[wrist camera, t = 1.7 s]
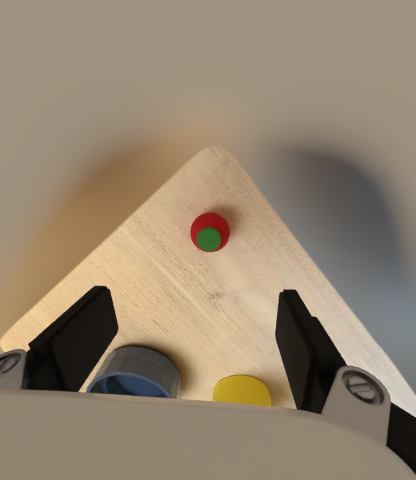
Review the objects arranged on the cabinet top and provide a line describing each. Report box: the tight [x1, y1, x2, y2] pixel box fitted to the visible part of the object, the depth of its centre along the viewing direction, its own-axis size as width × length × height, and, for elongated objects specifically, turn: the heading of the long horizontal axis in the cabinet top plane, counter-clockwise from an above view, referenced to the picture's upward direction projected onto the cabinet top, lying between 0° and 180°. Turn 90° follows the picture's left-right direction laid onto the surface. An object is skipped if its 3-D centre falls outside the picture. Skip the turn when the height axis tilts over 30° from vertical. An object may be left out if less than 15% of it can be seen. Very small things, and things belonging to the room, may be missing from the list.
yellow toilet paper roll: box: [213, 375, 272, 407], centre depth 31 cm, size 10×10×9 cm
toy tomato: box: [191, 213, 230, 252], centre depth 23 cm, size 5×5×5 cm
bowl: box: [86, 347, 181, 399], centre depth 33 cm, size 14×14×5 cm
